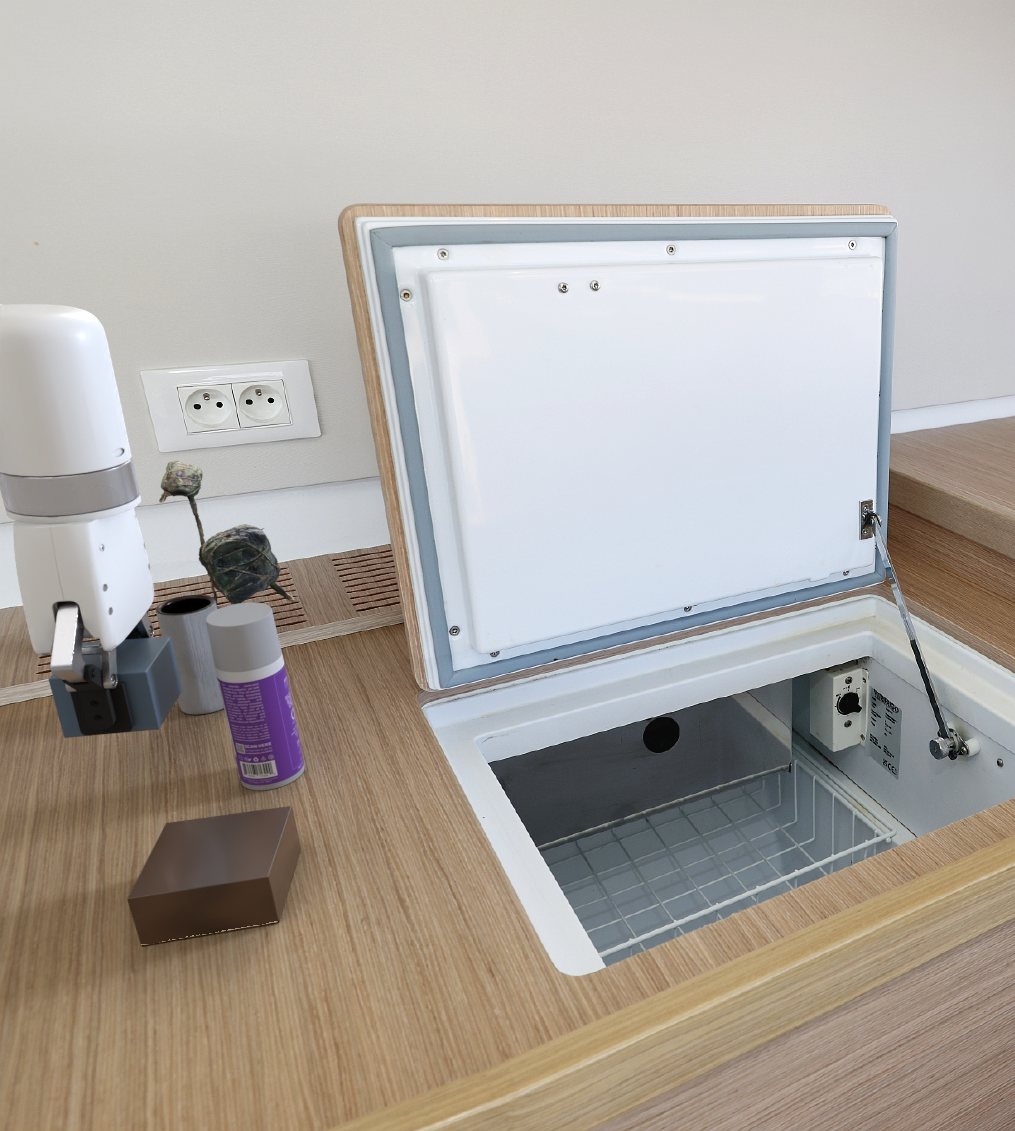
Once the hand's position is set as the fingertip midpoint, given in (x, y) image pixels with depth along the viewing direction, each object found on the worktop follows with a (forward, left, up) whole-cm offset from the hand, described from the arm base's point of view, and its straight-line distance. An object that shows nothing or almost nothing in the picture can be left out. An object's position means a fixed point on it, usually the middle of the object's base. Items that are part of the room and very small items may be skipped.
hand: (124, 706), depth 73 cm
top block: (0, 0, -1) cm, 1 cm away
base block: (+9, -14, -8) cm, 18 cm away
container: (+9, +1, -9) cm, 12 cm away
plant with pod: (0, +31, -9) cm, 32 cm away
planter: (+1, +15, -9) cm, 17 cm away
